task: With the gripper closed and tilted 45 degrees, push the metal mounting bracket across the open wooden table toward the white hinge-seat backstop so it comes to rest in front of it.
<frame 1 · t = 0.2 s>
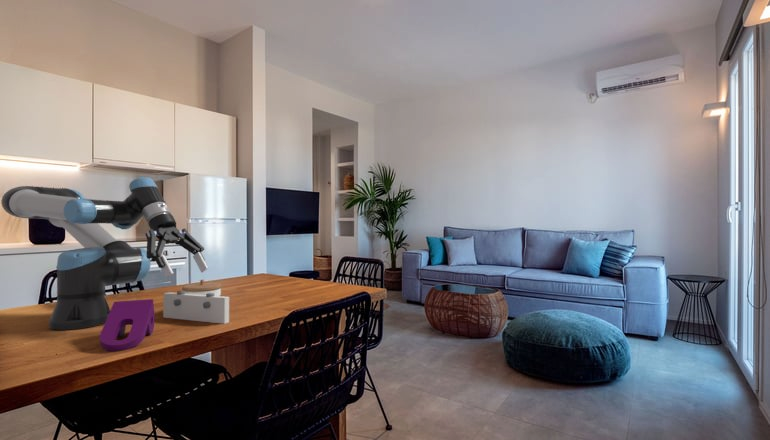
hand: (188, 272, 122), 15 cm above the table, tool tilted 35°, fingers open, 13 cm apart
hinge seat: (195, 319, 123), on the table
mounting bracket: (127, 342, 101), on the table
lidded bowl: (202, 311, 136), on the table
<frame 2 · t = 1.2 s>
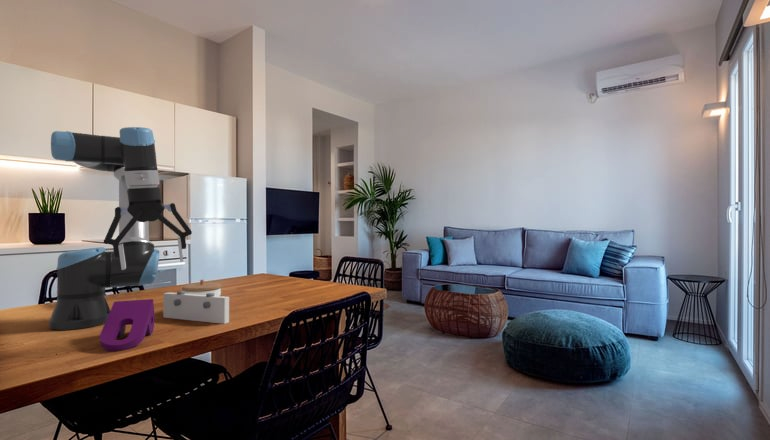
hand: (153, 264, 104), 20 cm above the table, tool pointing down, fingers open, 13 cm apart
nothing on the table moved.
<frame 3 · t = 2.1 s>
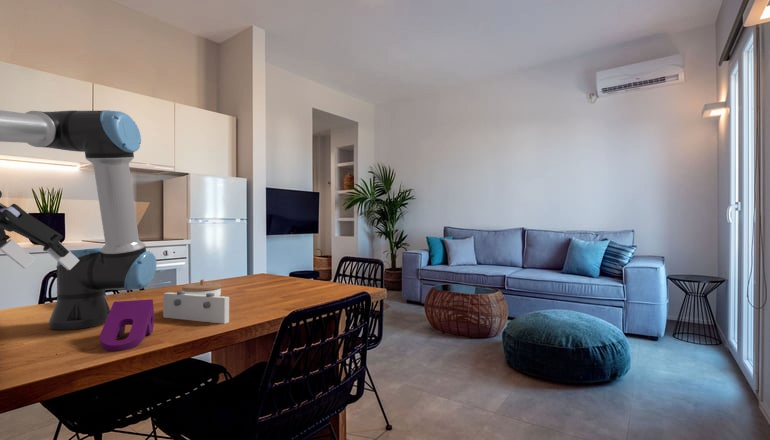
hand: (51, 264, 84), 22 cm above the table, tool tilted 45°, fingers open, 13 cm apart
nothing on the table moved.
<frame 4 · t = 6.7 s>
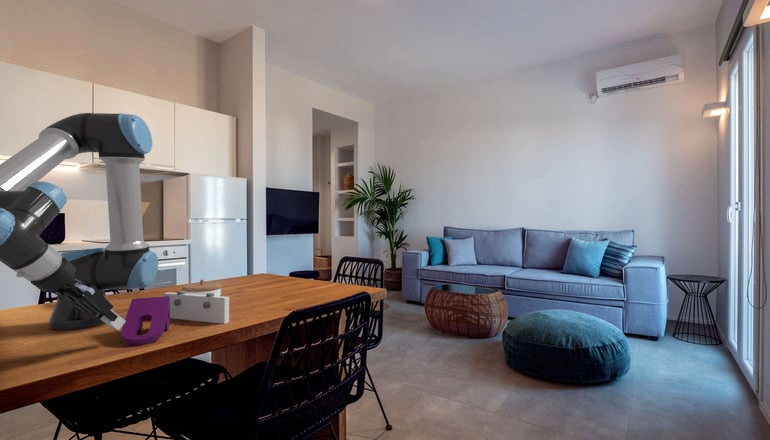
hand: (120, 325, 99), 5 cm above the table, tool tilted 45°, fingers closed
mounting bracket: (146, 337, 105), on the table, touching gripper
everything else where it was.
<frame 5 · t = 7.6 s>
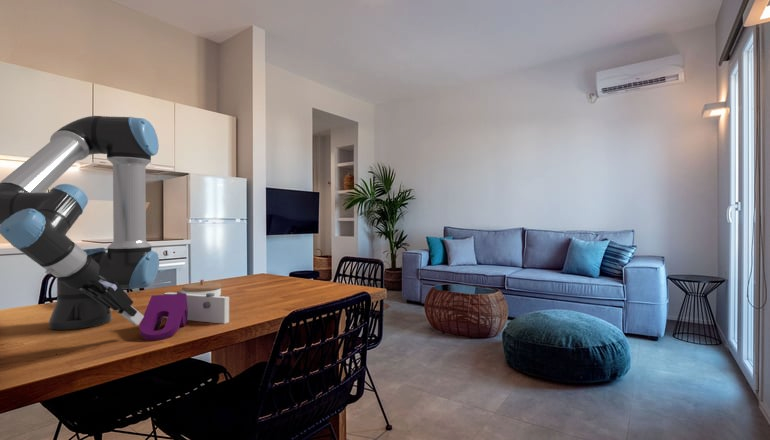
hand: (139, 320, 104), 5 cm above the table, tool tilted 45°, fingers closed
mounting bracket: (163, 332, 110), on the table, touching gripper
everything else where it was.
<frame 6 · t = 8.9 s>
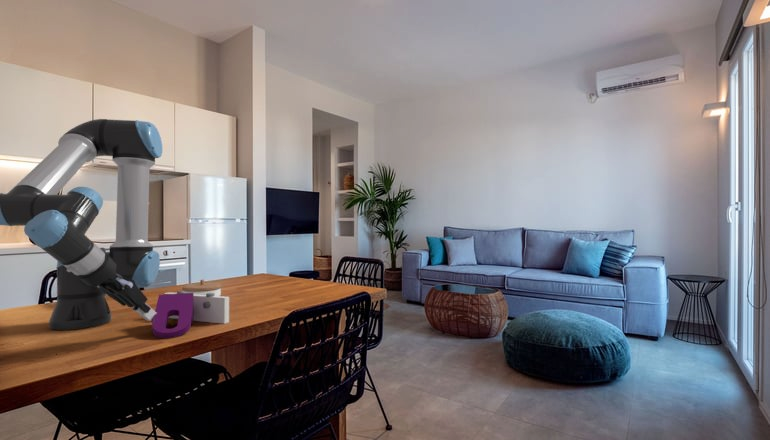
hand: (152, 317, 108), 5 cm above the table, tool tilted 45°, fingers closed
mounting bracket: (173, 331, 112), on the table
everything else where it was.
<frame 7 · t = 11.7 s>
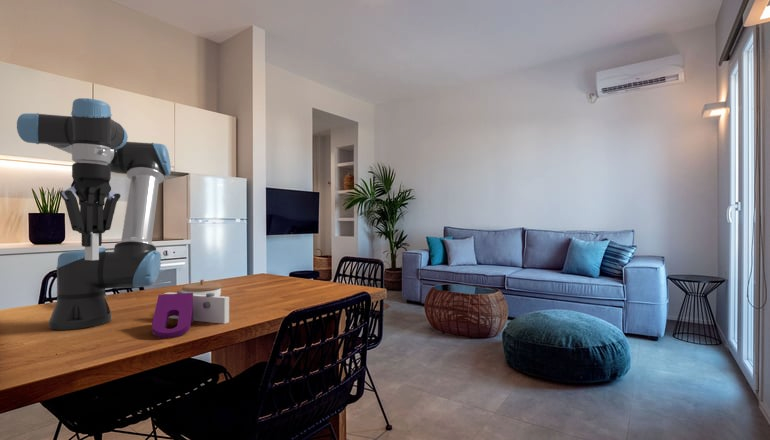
hand: (91, 259, 93), 22 cm above the table, tool pointing down, fingers closed
nothing on the table moved.
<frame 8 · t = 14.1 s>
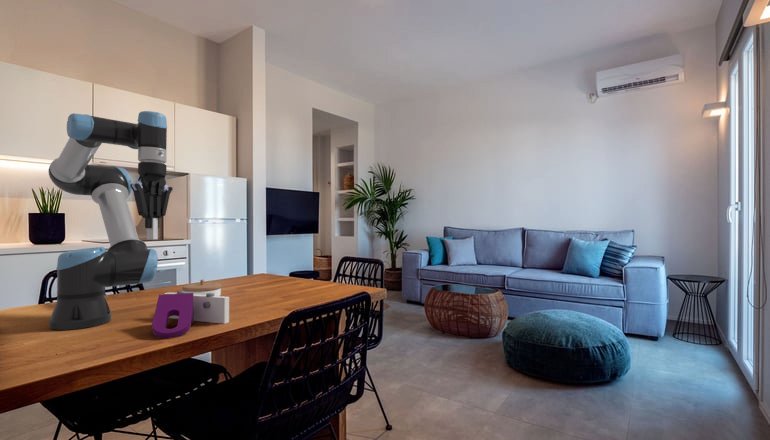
hand: (152, 239, 117), 26 cm above the table, tool pointing down, fingers closed
nothing on the table moved.
at the end: mounting bracket inside the target area (1.7 cm from its centre), on the table; mounting bracket moved 12.2 cm from its start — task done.
